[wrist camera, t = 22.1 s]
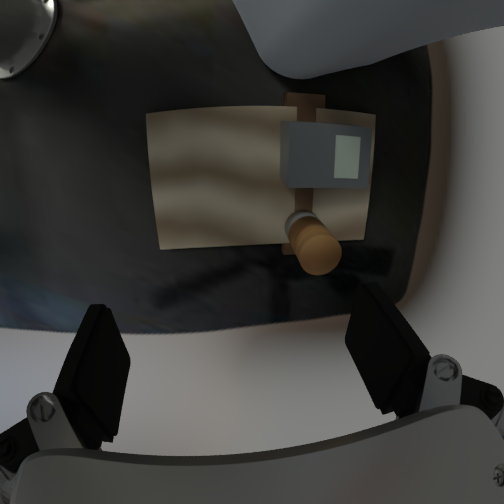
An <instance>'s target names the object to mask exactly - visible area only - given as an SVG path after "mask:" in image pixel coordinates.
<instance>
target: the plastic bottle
mask: <svg viewBox="0 0 504 504" xmlns="http://www.w3.org/2000/svg"><path fill="white" fill-rule="evenodd" d="M233 3H234V4H235V6H236V8H237V10H238V12H239V14H240V16H241V18H242V20H243V22H244V24H245V26H246V28H247V31H248V33H249V35H250V37H251V39H252V41H253V43H254V45H255V48H256V50H257V52H258V54H259V56H260V58H261V59H262V60H263V62H264V63H265V64H266V65H267V66H268V67H269V68H270V69H272V70H273V71H275V72H276V73H278V74H280V75H283V76H285V77H288V78H293V79H310V78H314V77H317V76H321V75H325V74H329V73H333V72H337V71H342V70H346V69H350V68H355V67H360V66H365V65H370V64H373V63H376V62H378V61H381V60H383V59H386V58H388V57H391V56H394V55H397V54H399V53H402V52H405V51H408V50H411V49H414V48H417V47H420V46H423V45H426V44H429V43H433V42H436V41H439V40H443V39H447V38H450V37H454V36H457V35H462V34H466V33H470V32H474V31H479V30H484V29H489V28H493V27H499V26H504V0H233Z"/></svg>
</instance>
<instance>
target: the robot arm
mask: <svg viewBox="0 0 504 504" xmlns="http://www.w3.org/2000/svg"><path fill="white" fill-rule="evenodd" d="M57 15H58V6H57V1H56V0H0V79H7V78H12V77H14V76H16V75H18V74H20V73H21V72H23V71H24V70H25V69H26V68H28V67H29V66H30V65H31V64H32V63H33V62H34V61H35V59H36V58H37V57H38V56H39V54H40V53H41V52H42V50H43V49H44V47H45V46H46V44H47V42H48V41H49V38H50V36H51V34H52V32H53V29H54V27H55V24H56V20H57ZM345 343H346V346H347V348H348V350H349V352H350V354H351V356H352V358H353V360H354V362H355V365H356V367H357V369H358V371H359V373H360V375H361V377H362V379H363V381H364V383H365V385H366V388H367V390H368V392H369V394H370V396H371V398H372V401H373V403H374V405H375V407H376V408H377V409H380V410H381V412H382V414H387V413H390V412H393V411H394V412H395V414H396V420H394V421H391V422H388V423H385V424H382V425H379V426H376V427H372V428H369V429H366V430H362V431H359V432H356V433H352V434H348V435H345V436H341V437H337V438H333V439H328V440H324V441H320V442H315V443H310V444H305V445H300V446H294V447H289V448H283V449H276V450H270V451H262V452H253V453H243V454H231V455H214V456H156V455H138V454H127V453H116V452H107V451H102V449H101V448H100V447H101V444H102V441H104V442H113V438H114V436H116V435H117V433H118V428H119V422H120V416H121V410H122V404H123V399H124V394H125V388H126V383H127V378H128V373H129V369H130V356H129V353H128V351H127V349H126V347H125V344H124V342H123V339H122V337H121V335H120V332H119V330H118V327H117V324H116V322H115V319H114V317H113V314H112V311H111V309H110V308H107V307H106V305H104V304H91V305H90V306H89V308H88V310H87V312H86V314H85V316H84V318H83V320H82V323H81V325H80V327H79V329H78V331H77V334H76V336H75V338H74V340H73V342H72V344H71V347H70V349H69V351H68V354H67V356H66V359H65V361H64V364H63V366H62V369H61V371H60V374H59V377H58V379H57V382H56V385H55V388H54V390H53V393H49V392H42V393H39V394H37V395H35V396H34V397H33V398H32V399H31V400H30V401H29V403H28V406H27V411H26V412H27V418H25V419H23V420H22V421H21V422H19V423H17V424H15V425H14V426H12V427H11V428H9V429H8V430H6V431H4V432H3V433H1V434H0V504H504V398H503V395H502V393H501V391H500V390H499V389H498V388H497V387H496V386H494V385H491V384H489V383H485V382H482V381H479V380H476V379H474V378H470V377H468V376H465V375H462V369H461V366H460V364H459V363H458V362H457V361H456V360H455V359H454V358H452V357H450V356H448V355H443V354H440V355H436V356H434V357H432V358H431V356H430V355H429V351H428V350H427V348H426V347H425V345H424V344H423V343H422V341H421V340H420V338H419V337H418V336H417V334H416V333H415V331H414V330H413V329H412V327H411V326H410V325H409V323H408V322H407V321H406V319H405V318H404V317H403V315H402V314H401V313H400V311H399V310H398V309H397V307H396V306H395V305H394V303H393V302H392V301H391V300H390V298H389V297H388V296H387V294H386V293H385V292H384V291H383V289H382V288H381V287H380V286H379V284H378V283H377V282H369V283H363V284H361V286H360V287H359V288H357V290H356V295H355V299H354V303H353V308H352V312H351V316H350V320H349V324H348V328H347V332H346V335H345Z"/></svg>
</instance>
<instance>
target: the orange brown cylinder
mask: <svg viewBox="0 0 504 504" xmlns="http://www.w3.org/2000/svg"><path fill="white" fill-rule="evenodd" d="M284 228H285V234H286V236H287V238H288V240H289V242H290V244H291V246H292V248H293V250H294V252H295V254H296V256H297V258H298V260H299V262H300V264H301V266H302V268H303V269H304V270H305V271H306V272H307V273H309V274H312V275H322V274H326V273H328V272H330V271H331V270H333V269H334V268H335V267H336V266H337V264H338V263H339V261H340V259H341V254H342V250H341V246H340V244H339V242H338V241H337V240H336V239H335V238H334V236H333V235H332V234H331V233H330V232H329V230H328V229H327V228H326V227H325V226H324V224H323V223H322V222H321V221H320V220H319V219H318V217H317V216H316V215H315V214H314V213H313V212H311V211H308V210H298V211H296V212H294V213H292V214H291V215H290V216H289V217H288V218H287V220H286V222H285V227H284Z"/></svg>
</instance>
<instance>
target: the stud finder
mask: <svg viewBox="0 0 504 504" xmlns="http://www.w3.org/2000/svg"><path fill="white" fill-rule="evenodd" d="M371 142H372V128H369V127H363V126H356V125H346V124H335V123H322V122H305V121H280V179H281V180H282V181H283V183H284V184H285V185H286V186H287V187H288V188H360V189H368V180H369V169H370V157H371Z"/></svg>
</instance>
